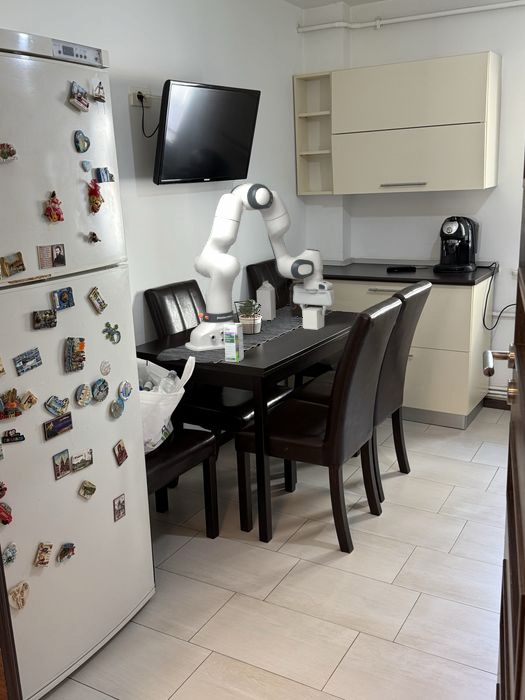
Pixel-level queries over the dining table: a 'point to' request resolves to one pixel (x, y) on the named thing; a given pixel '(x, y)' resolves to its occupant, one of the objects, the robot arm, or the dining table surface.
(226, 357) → the syrup box
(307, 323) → the white block
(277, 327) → the dining table surface
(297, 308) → the chalk-scribbled black cube
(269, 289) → the milk carton
